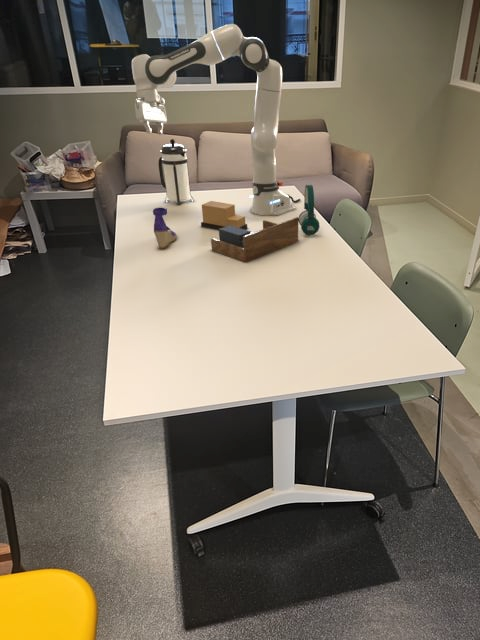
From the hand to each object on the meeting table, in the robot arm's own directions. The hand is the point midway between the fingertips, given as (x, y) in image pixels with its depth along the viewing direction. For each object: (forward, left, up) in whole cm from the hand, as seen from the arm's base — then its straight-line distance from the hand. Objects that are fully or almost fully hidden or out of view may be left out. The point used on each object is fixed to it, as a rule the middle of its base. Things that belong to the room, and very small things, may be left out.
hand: (155, 134), depth 224 cm
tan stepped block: (-12, +33, -36) cm, 50 cm away
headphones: (-38, +62, -36) cm, 81 cm away
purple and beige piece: (+18, +33, -36) cm, 52 cm away
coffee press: (-17, -20, -36) cm, 45 cm away
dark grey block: (-1, +61, -36) cm, 71 cm away
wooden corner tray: (-9, +61, -36) cm, 72 cm away
